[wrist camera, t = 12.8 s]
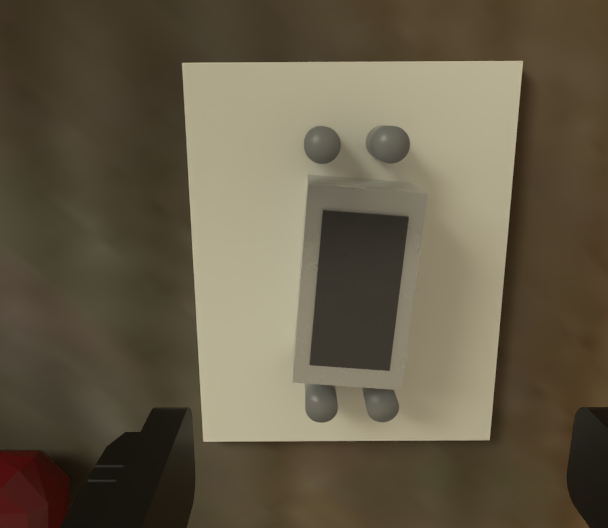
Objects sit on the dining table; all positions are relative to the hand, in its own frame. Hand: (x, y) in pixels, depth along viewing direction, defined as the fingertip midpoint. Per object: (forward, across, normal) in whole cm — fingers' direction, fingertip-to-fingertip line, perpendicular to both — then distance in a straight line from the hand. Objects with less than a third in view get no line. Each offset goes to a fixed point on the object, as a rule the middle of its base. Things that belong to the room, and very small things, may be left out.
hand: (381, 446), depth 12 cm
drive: (+17, -1, +1) cm, 17 cm away
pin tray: (+18, -1, +1) cm, 18 cm away
